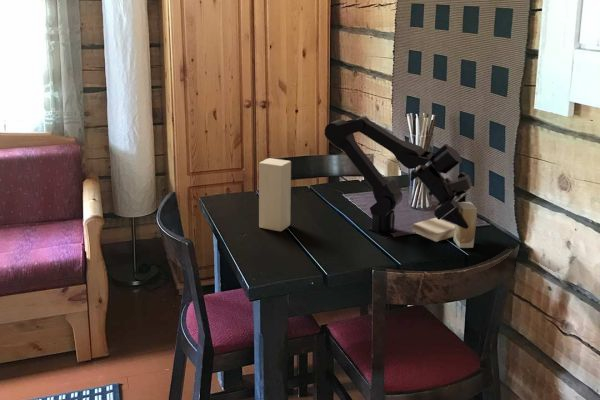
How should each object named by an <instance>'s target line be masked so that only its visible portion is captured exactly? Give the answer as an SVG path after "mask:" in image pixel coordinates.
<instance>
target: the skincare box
mask: <svg viewBox="0 0 600 400" xmlns="http://www.w3.org/2000/svg"><path fill="white" fill-rule="evenodd" d="M458 204H459V212H460V213H461V215H462V216H463V218H464V219H465V221H466V223H467V224H468V226H469V227H468V228H467V229H465V228H462V227H460V226H458V225H456V224H454V225H455V230H454V237H453V242H454V243H455V244H456V246H457V247H458V248H459V249H470V248H471V249H472V248H474V245H475V236H476V235H475V234H476V227H477V216H478V208H477V207H476V206H475V205H474V204H473V203H472V201H466V202H457V205H458Z"/></svg>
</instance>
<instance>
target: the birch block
mask: <svg viewBox="0 0 600 400" xmlns="http://www.w3.org/2000/svg"><path fill="white" fill-rule="evenodd" d="M454 230H455V224H454V223H452V222H449V221H447V220H445V219H441V218H440V219H439V220H438V219H437V218H436V217H434V218H430V219H427V220H426V219H425V220H422V221H418V222H415V223H412V232H413V233H415V232H416V233H415V234H417V235H420V236H422V237H424V238H426V239H429V240H431V241H434V242H439V241H440V242H441V241H443V240H446V239H450V238H454Z"/></svg>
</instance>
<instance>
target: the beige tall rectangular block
mask: <svg viewBox="0 0 600 400" xmlns="http://www.w3.org/2000/svg"><path fill="white" fill-rule="evenodd" d="M291 182H292V161H291V160H287V159H286V160H285V159H280V158H279V159H278V158H272V157H269V158H265V159H264V160H262V161H260V162H259V163H258V227H259V228H260V229H261V228H262V229H265V230H270V231H276V232H282V231H284V230H286V229H287V228H288V227H289V226H291V202H292V201H291V199H292V198H291V189H292V186H291V185H292V183H291Z"/></svg>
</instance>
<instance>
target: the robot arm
mask: <svg viewBox="0 0 600 400" xmlns="http://www.w3.org/2000/svg"><path fill="white" fill-rule="evenodd" d="M355 133H361V134H362V135H363V136H365V137H367V138H368V139H370V140H372V141H373V142H375V143H377V145H380V146H381V147H383V148H384V149H386V150H387V151H389V152H391V154H393V156H394V157H395V159H396V160H397V161H398V162H399V163H400V164H401V165H402V166H404V168H406V169H408V170H411V171H410V182H412V181H414V180H416V179H418V180H419V182H421V183H422V184H423V185H424V187H425V188H426V189H427V191H428V192H427V195H429V196H433V198H435V200H436V201H437V202H438V203H437V205H438V206H437V207H436V208H435V209H434V211H433V212H434V213H433V214H434V216H435V218H437V219H438V220H439V219H441V220H444V221H446V222H449V223H452V224H454V225H455V224H456V225H458V226H460V227H462V228H465V229H467V228H468V227H469V226H468V224H467V223H466V221H465V219H464V218H463V216H462V215H461V213H460V212H459V204H458V205H457V202H467V197H468V193H467V192H468V191H469V190H470V189H471V187H472V186H473V183H472V181H471V180H472V178H471V176H470V175H469V174H466V172H464V171H463V172H459V173H458V174H457V178H455V179H452V180H451V179H450V178H449V177H444V176H443V175H442V174H445V175H446V174H448V173H449V172H450V171H452V170H453V169H454V168H455V167H457V166H458V165H460V164H461V163H462V161H463V160H462V157H461V155H460V154H459V152H458V151H457V150H455V149H454V148H453V147H451V146H450V145H448V143H445V144H443V146H441V147H440V148H439V150H438V151H436V152H434V151H428V150H425V148H423V147H422V146H420V145H418V144H416V143H413V142H410V141H406V140H402V139H400V138H399V137H397V136H396V135H394V134H393V133H391V132H389V131H387V129H385V128H383V127H381V126H379V125H378V124H376V122H373V121H372V120H370V119H369V117H366V116H360V117H358V118H353V119H348V120H346V119H336V120H334V121H332V122H330V123H328V124H327V125H326V126H325V128H324V133H323V134H324V136H325V138H326V139H327V140H328V142H329V143H331V145H333V146H334V147H335V148H337V149H339V150H341V151H343V153H344V154H345V156H347V158H348V159H349V160H350V161H351V163H352V165H354V166H355V169H357V170H358V172H359V174H360V176H361V177H363V179H365V181H366V182H367V183H368V185H369V186H370V188H371V191H372V194H373V198H374V200H375V203H374V204H373V205H371V206H370V207H369V210H370V214H371V215H372V217H371V226H369V227H368V230H369V231H372V232H373V233H377V234H378V235H381V236H384V235H387V234H390V233H395V232H397V231H398V229H397V228H396V227H395V220H396V215H395V209H396V207H397V206H398V205H399V204H401V202H402V200H403V197H404V196H403V193H402V188H401V187H400V186H398V184H397V182H396V181H395V179H394V178H393V179H391V180H390V181H389V180H387V179H386V178H385V177H384V176H383V175H382V174H381V172H380V171H379V170H378V168H377V167H376V166H375V165H374V163H373V162H372V161H371V159H370V158H369V157H368V156H367V154H366V153H365V152H364V151H363V149H362V148H361V147H360V145H359V144H358V143H357V141H356V138H355ZM429 162H431V163H429ZM428 163H429V164H428ZM427 164H428V165H427ZM419 166H420V167H419ZM416 168H418V169H416ZM412 169H413V170H412Z"/></svg>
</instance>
